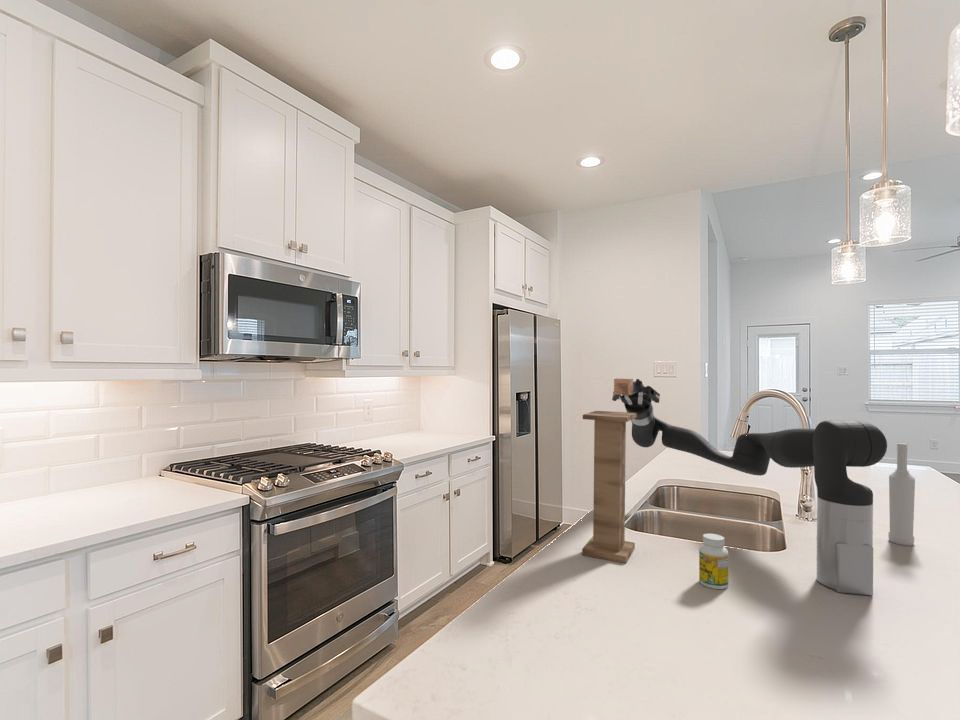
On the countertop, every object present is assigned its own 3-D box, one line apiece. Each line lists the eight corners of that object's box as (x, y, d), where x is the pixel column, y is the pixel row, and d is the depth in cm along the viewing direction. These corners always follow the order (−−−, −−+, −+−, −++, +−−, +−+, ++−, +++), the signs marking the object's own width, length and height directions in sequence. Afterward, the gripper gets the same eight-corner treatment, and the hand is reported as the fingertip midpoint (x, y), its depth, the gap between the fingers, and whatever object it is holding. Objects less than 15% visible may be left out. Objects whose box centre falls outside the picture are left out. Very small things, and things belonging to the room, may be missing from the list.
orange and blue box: (627, 391, 146) (627, 377, 146) (641, 391, 144) (641, 377, 144) (613, 394, 129) (614, 378, 129) (629, 395, 128) (630, 379, 128)
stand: (594, 540, 127) (595, 410, 127) (635, 547, 122) (636, 412, 123) (581, 556, 116) (582, 414, 116) (625, 564, 112) (627, 417, 112)
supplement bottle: (734, 588, 101) (734, 539, 101) (712, 591, 99) (712, 542, 99) (714, 577, 106) (714, 531, 106) (693, 580, 104) (693, 533, 104)
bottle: (904, 539, 131) (905, 442, 131) (920, 546, 126) (921, 445, 126) (883, 538, 131) (884, 441, 132) (897, 545, 126) (898, 445, 126)
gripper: (663, 421, 148) (656, 394, 134) (614, 419, 154) (603, 392, 141) (665, 398, 151) (658, 370, 138) (617, 397, 157) (606, 369, 144)
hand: (630, 381), depth 139 cm, fingers closed on orange and blue box, 3 cm apart
